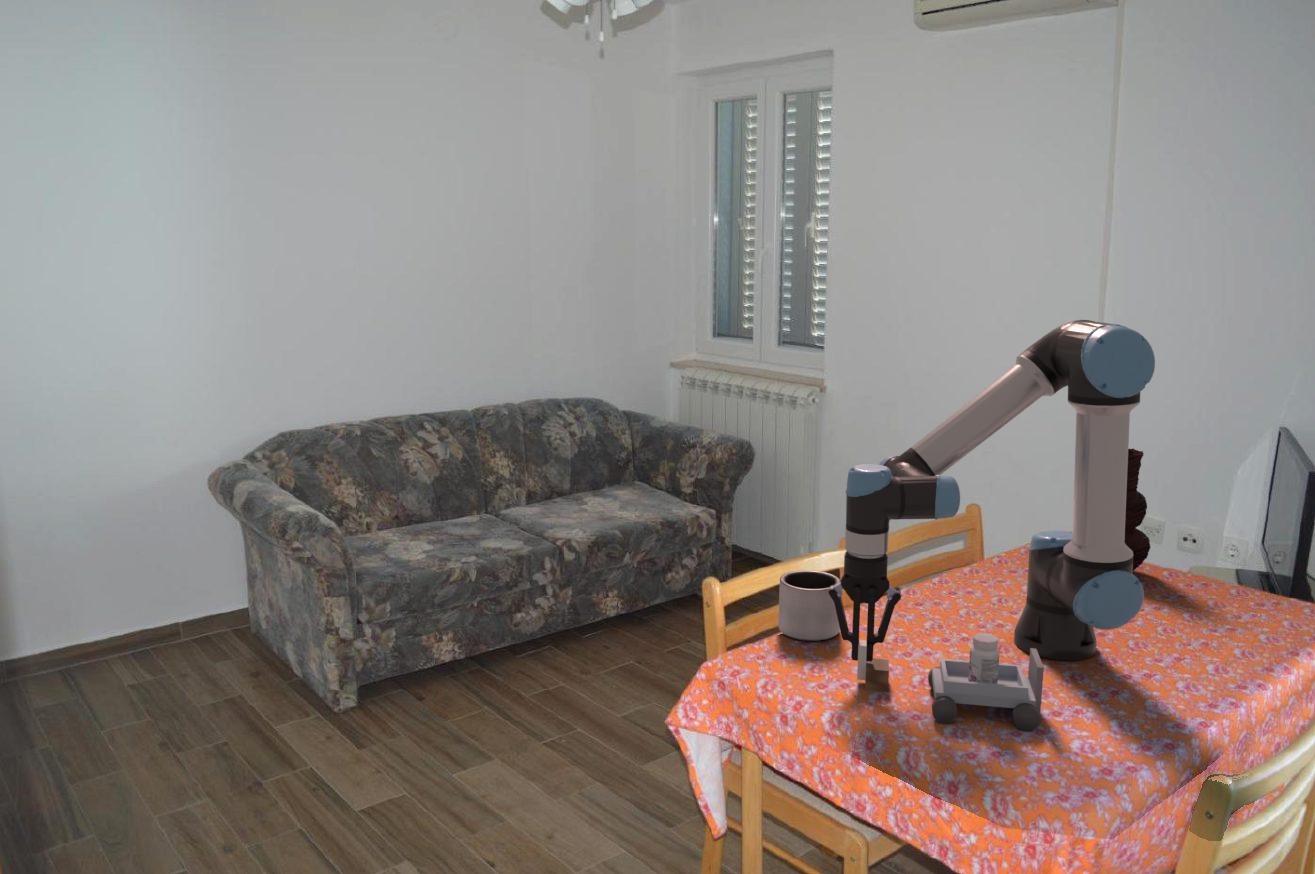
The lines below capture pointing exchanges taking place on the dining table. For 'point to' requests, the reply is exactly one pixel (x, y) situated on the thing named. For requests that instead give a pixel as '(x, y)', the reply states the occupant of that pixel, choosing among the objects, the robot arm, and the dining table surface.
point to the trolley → (989, 690)
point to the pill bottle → (984, 659)
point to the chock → (877, 675)
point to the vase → (1135, 511)
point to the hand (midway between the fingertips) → (861, 676)
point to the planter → (807, 605)
